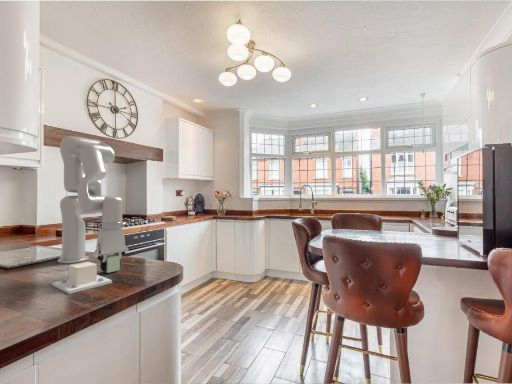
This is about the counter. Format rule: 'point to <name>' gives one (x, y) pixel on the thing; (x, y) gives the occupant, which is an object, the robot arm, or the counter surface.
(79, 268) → the cream block
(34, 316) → the counter surface
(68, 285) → the plate
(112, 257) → the sage block
